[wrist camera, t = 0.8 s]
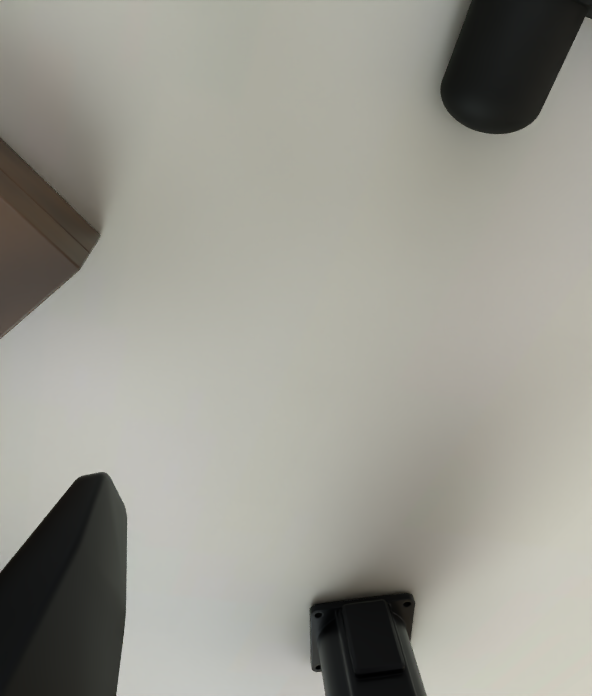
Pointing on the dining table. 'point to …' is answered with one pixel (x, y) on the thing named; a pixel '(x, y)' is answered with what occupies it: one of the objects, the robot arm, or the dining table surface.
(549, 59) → the black toy gun
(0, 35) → the dining table surface
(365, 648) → the robot arm
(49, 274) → the brown wooden stand
